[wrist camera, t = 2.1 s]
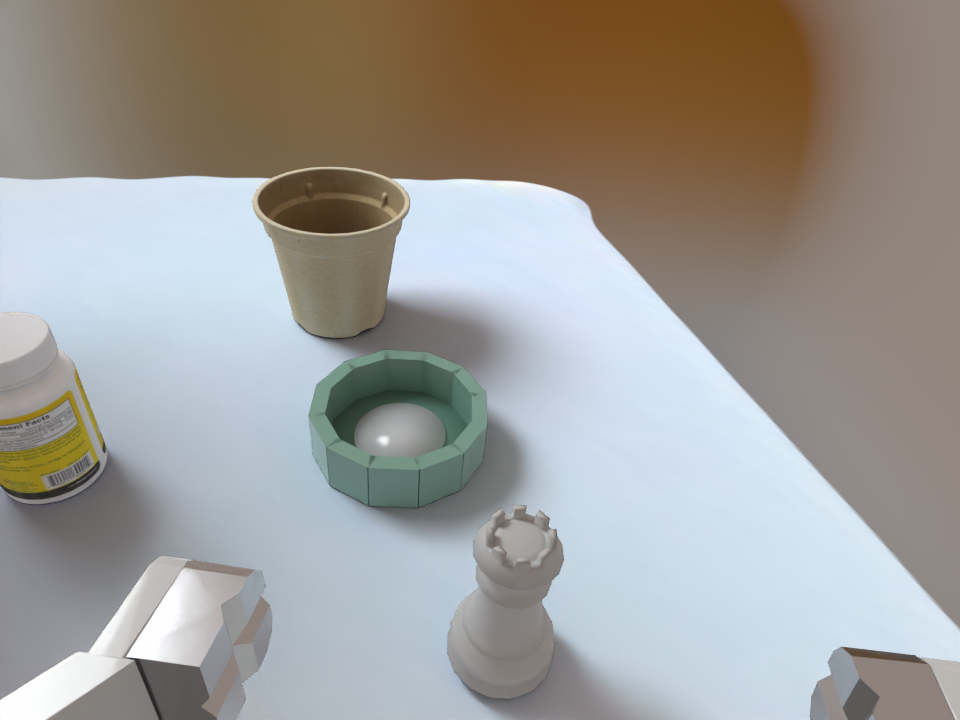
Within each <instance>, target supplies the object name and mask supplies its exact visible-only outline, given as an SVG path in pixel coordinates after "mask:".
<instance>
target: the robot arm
mask: <svg viewBox="0 0 960 720" xmlns="http://www.w3.org/2000/svg"><path fill="white" fill-rule="evenodd" d="M265 586H266V585H265V581H264V577H263V574H262V571H260V570H254V569H247V568H241V567H234V566H228V565H222V564H215V563H209V562H202V561H196V560H190V559H183V558H176V557H169V556H160V557H159V558H157V559H156V560H155V561H153V562H152V563H151V564H150V565H149V566H148V567H147V569H146V570H145V572H144V573H143V574H142V576H141V577H140V579H139V580H138V581H137V583H136V584H135V586H134V587H133V589H132V590H131V591H130V593H129V594H128V596H127V597H126V599H125V600H124V601H123V603H122V604H121V606H120V607H119V608H118V610H117V611H116V613H115V614H114V616H113V617H112V618H111V620H110V621H109V623H108V624H107V626H106V627H105V628H104V630H103V631H102V633H101V634H100V635H99V637H98V638H97V640H96V641H95V643H94V644H93V645H92V647H91V648H90V650H89V651H88V652H81V651H77V652H76V653H74V654H72V655H71V656H69V657H68V658H66V659H65V660H63V661H61V662H60V663H58V664H57V665H55V666H53V667H52V668H50V669H49V670H47V671H46V672H44V673H42V674H41V675H39V676H38V677H36V678H34V679H33V680H31V681H30V682H28V683H26V684H25V685H23V686H22V687H20V688H19V689H17V690H15V691H14V692H12V693H11V694H9V695H7V696H6V697H4V698H3V699H1V700H0V720H236V719H237V717H238V715H239V713H240V710H241V708H242V706H243V704H244V702H245V699H246V698H245V693H244V689H243V685H242V682H244V681H245V680H246V679H248V678H249V677H250V676H251V675H253V674H254V673H255V672H257V671H258V670H259V668H260V666H261V664H262V661H263V659H264V657H265V654H266V652H267V648H268V644H269V640H270V636H271V632H272V613H271V608H270V605H269V604H268V603H267V602H266V601H265V600H264V599H263V598H262V597H261V594H262V592H263V590H264V588H265ZM828 664H829V667H830V670H831V674H832V675H830V676H828V677H826V678H824V679H822V680H820V681H818V682H817V685H816V687H815V689H814V692H813V694H812V696H811V709H810V720H960V663H959V662H955V661H947V660H939V659H930V658H922V657H917V656H915V655H907V654H899V653H890V652H882V651H874V650H865V649H857V648H848V647H840V648H838V649H836V650H834V651H833V653H832V655H831V657H830V659H829V661H828Z"/></svg>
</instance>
